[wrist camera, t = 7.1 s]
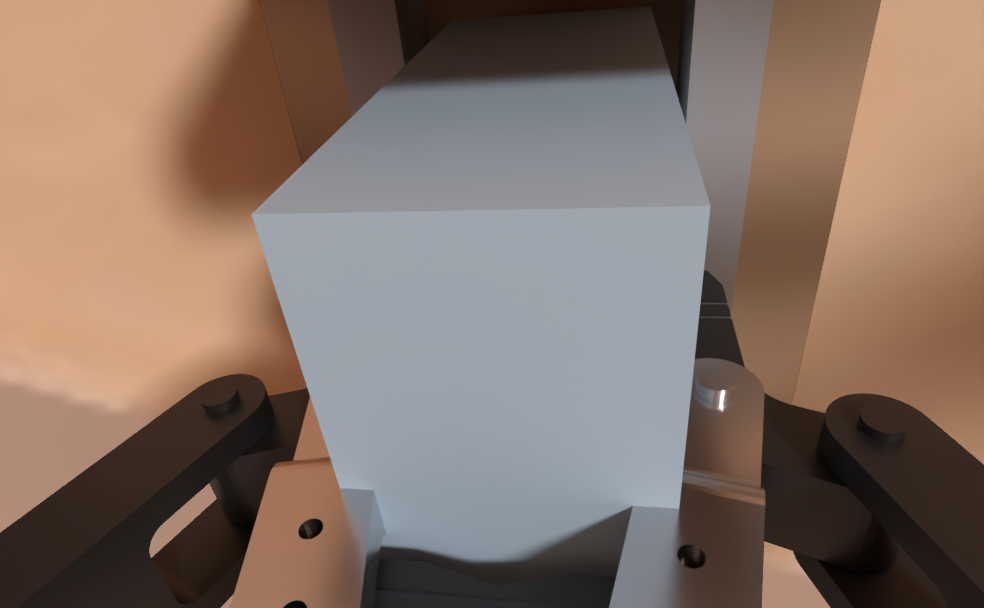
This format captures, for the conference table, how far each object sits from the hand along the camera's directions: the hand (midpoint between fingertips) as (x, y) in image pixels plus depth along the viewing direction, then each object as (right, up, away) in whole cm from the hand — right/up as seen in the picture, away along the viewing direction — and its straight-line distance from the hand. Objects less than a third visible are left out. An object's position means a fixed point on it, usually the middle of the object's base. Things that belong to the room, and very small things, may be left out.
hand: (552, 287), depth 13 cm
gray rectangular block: (0, +1, +1) cm, 1 cm away
